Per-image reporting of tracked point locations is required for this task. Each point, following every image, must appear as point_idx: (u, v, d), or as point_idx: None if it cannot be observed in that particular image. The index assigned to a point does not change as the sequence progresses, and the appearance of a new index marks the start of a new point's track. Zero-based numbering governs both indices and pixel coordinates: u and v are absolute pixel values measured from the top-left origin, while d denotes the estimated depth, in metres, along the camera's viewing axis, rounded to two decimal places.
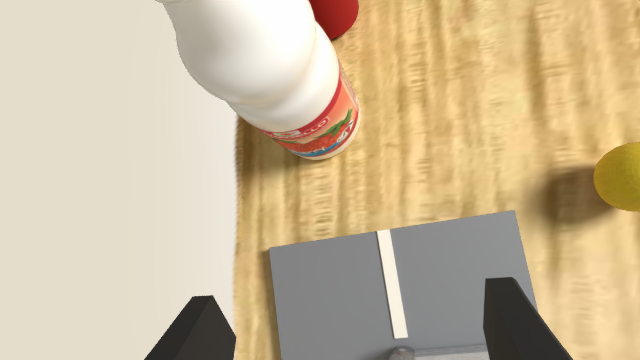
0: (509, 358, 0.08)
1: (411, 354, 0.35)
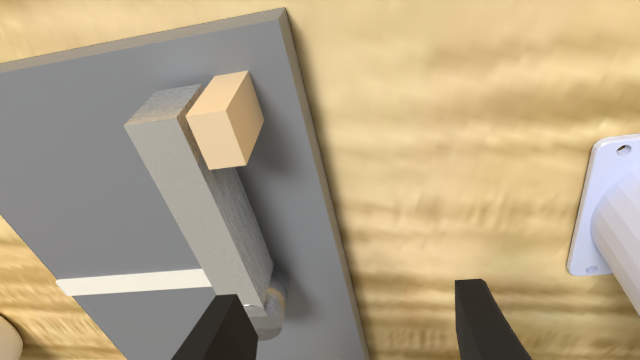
0: (474, 359, 0.09)
1: None
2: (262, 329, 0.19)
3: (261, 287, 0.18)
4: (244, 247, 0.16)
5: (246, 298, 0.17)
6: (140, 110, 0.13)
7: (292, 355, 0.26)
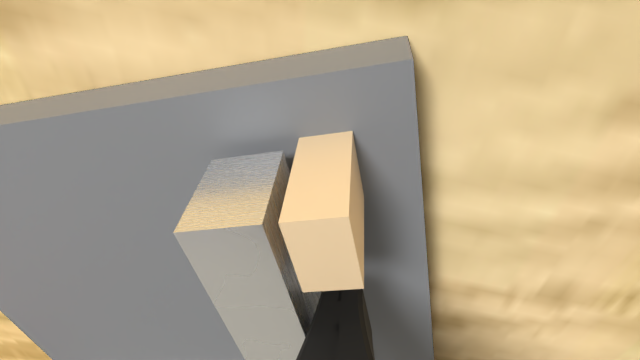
0: None
1: None
2: None
3: None
4: None
5: None
6: (195, 199, 0.09)
7: None
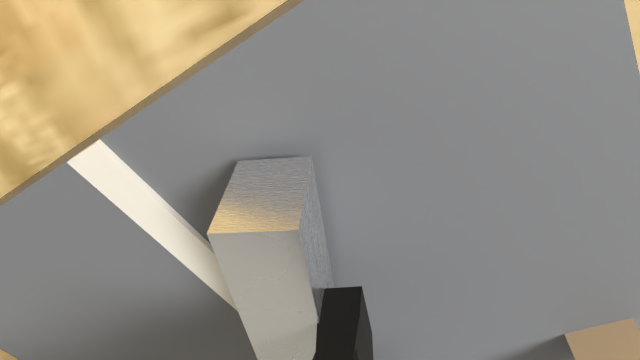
0: None
1: None
2: None
3: None
4: None
5: None
6: (225, 201, 0.09)
7: None
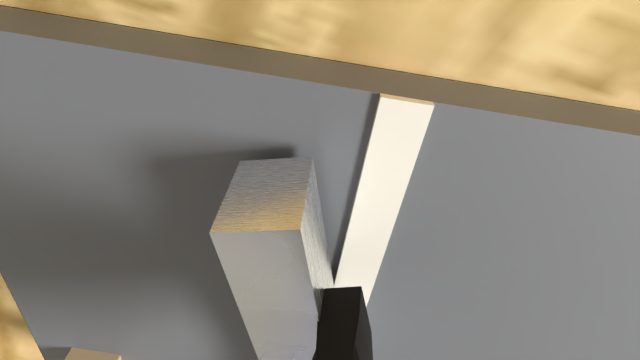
0: None
1: None
2: None
3: None
4: None
5: None
6: (228, 200, 0.09)
7: (132, 335, 0.16)
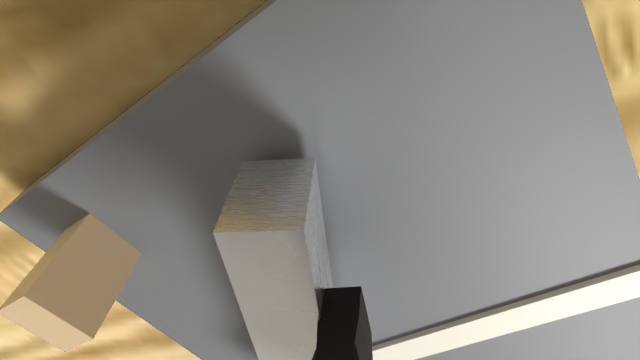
0: None
1: None
2: None
3: None
4: None
5: None
6: (231, 200, 0.09)
7: (194, 249, 0.13)
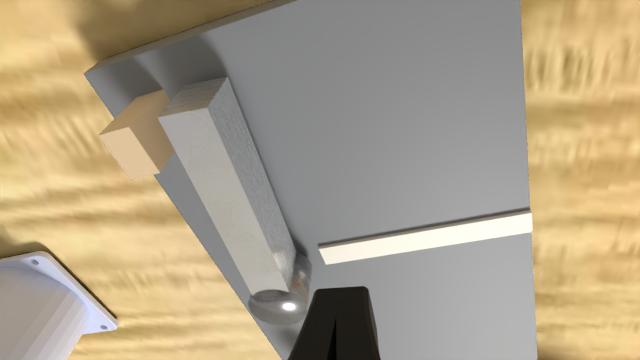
0: None
1: None
2: (288, 314, 0.20)
3: (286, 272, 0.19)
4: (269, 232, 0.17)
5: (272, 283, 0.18)
6: (171, 103, 0.14)
7: None
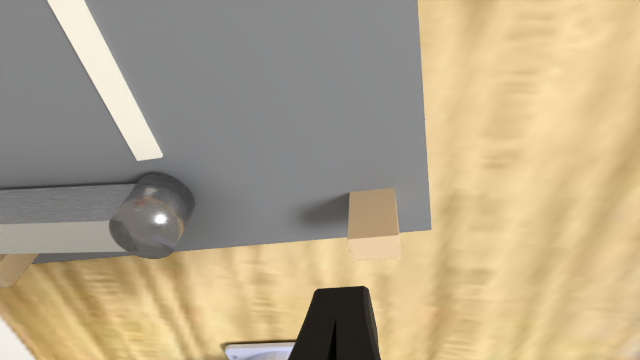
0: None
1: None
2: (150, 229, 0.17)
3: (99, 213, 0.17)
4: (47, 214, 0.18)
5: (99, 231, 0.17)
6: None
7: None
